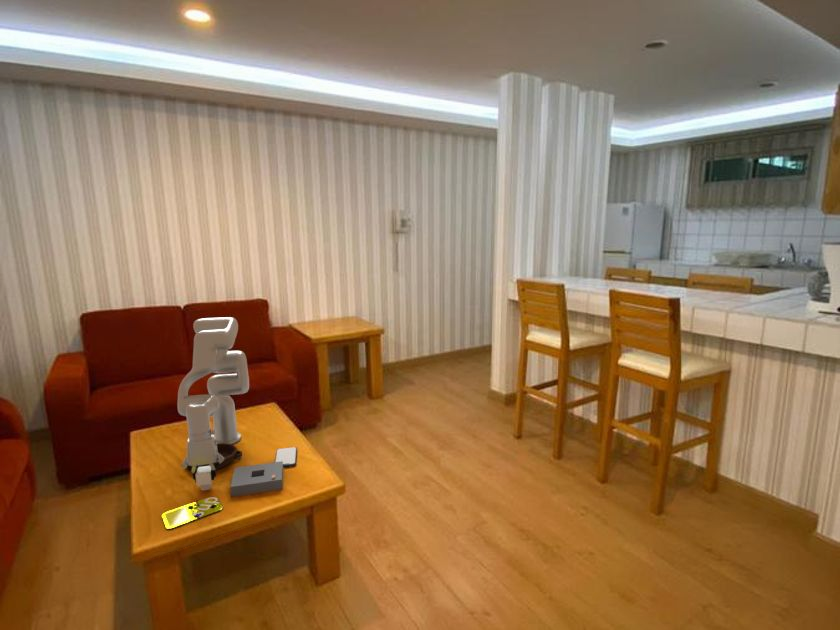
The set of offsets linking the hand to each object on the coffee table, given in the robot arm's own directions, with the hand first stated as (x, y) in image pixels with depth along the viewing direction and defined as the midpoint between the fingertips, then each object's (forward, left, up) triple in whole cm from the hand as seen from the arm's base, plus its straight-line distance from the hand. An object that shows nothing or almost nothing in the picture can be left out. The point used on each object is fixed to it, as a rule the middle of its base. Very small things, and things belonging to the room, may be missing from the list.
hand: (205, 479), depth 173 cm
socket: (+2, +19, -4) cm, 19 cm away
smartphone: (-15, +29, -4) cm, 33 cm away
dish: (-19, 0, -4) cm, 19 cm away
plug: (0, 0, -4) cm, 4 cm away
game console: (+15, -2, -5) cm, 16 cm away
